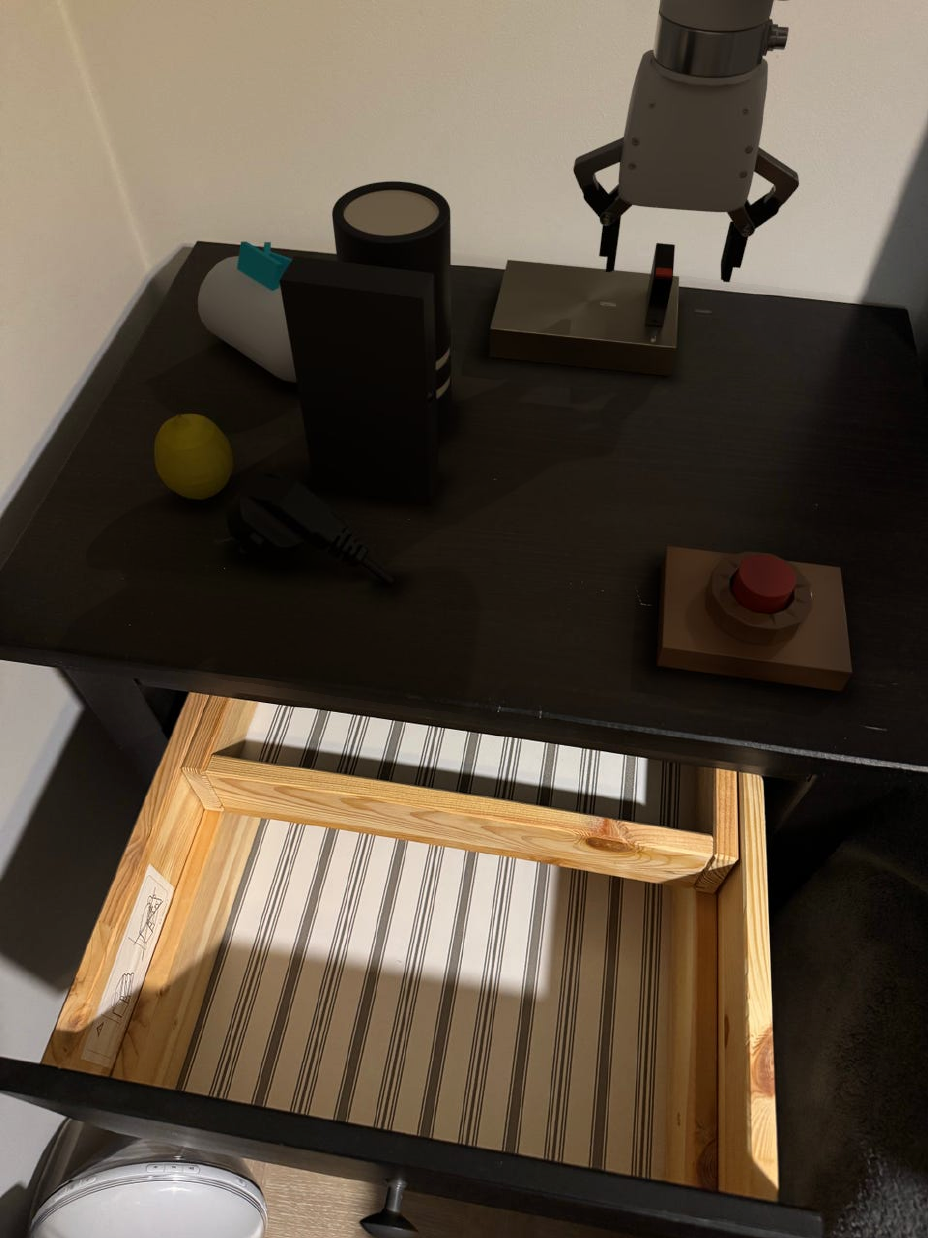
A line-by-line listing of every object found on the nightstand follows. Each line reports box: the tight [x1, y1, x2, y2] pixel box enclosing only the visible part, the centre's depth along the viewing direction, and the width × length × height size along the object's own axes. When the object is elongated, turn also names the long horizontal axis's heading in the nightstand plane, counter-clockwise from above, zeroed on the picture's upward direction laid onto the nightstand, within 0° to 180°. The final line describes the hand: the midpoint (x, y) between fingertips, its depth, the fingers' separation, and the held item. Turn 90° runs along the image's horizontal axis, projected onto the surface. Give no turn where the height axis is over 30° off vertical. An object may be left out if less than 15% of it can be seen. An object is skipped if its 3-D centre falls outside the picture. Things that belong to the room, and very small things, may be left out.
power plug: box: [226, 472, 395, 586], centre depth 65 cm, size 6×8×12 cm
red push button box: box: [656, 545, 853, 692], centre depth 61 cm, size 12×9×4 cm
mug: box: [197, 240, 297, 383], centre depth 79 cm, size 12×9×12 cm
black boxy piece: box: [645, 242, 676, 326], centre depth 78 cm, size 6×2×5 cm, turn 170°
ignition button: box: [733, 555, 796, 614], centre depth 59 cm, size 4×4×2 cm
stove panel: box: [488, 259, 712, 377], centre depth 82 cm, size 19×11×3 cm, turn 80°
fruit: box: [153, 413, 234, 501], centre depth 67 cm, size 6×6×8 cm
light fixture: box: [279, 180, 453, 507], centre depth 67 cm, size 10×14×18 cm
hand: (667, 268), depth 77 cm, fingers open, 9 cm apart
